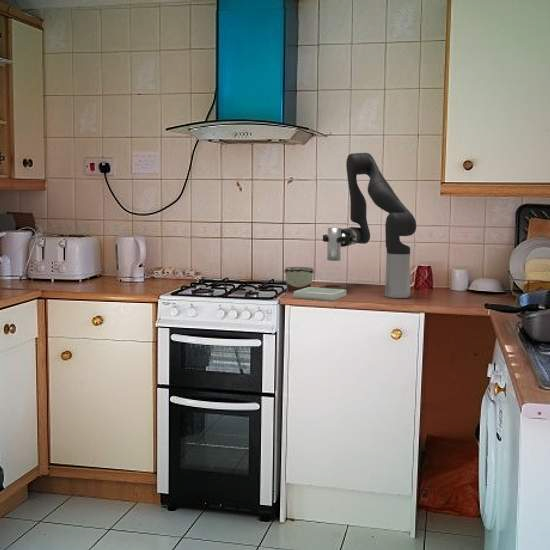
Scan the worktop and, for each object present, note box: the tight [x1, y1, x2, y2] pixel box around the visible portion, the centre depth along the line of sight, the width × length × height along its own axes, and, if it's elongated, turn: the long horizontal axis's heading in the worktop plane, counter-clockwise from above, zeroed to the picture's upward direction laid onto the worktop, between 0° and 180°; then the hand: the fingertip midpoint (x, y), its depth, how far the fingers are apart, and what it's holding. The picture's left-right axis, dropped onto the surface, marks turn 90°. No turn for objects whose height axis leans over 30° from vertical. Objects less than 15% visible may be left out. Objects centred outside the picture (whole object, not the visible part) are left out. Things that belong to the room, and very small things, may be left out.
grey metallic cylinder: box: [326, 227, 342, 262], centre depth 309 cm, size 5×5×13 cm
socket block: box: [318, 284, 348, 293], centre depth 312 cm, size 9×9×2 cm
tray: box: [293, 286, 348, 302], centre depth 298 cm, size 16×16×2 cm
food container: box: [283, 266, 315, 293], centre depth 312 cm, size 12×6×10 cm, turn 84°
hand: (332, 239), depth 307 cm, fingers closed on grey metallic cylinder, 5 cm apart
